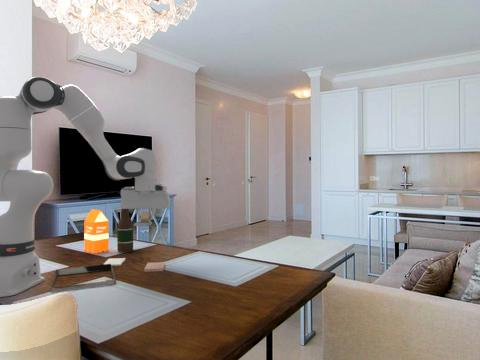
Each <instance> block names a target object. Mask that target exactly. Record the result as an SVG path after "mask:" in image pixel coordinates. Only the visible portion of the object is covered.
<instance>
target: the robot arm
mask: <svg viewBox="0 0 480 360" xmlns="http://www.w3.org/2000/svg"><path fill="white" fill-rule="evenodd" d="M52 109H55V110H58V111H59V112H61V113H62V114H63V115H64V116H65V117H66V119H67V120H68V121H69V122H70V123H71V125H72V126H73V127H74V128H75V129H76V131H77V132H78V133H80V135H82V137H83V138H84V139H85V140H86V141H87V142H88V145H89V146H90V147H91V148H92V150H93V151H94V152H95V154H96V155H97V156H98V158H99V159H100V160H101V162H102V164H103V167H104V171H105V173H106V175H107V177H109V178H110V179H111V180H113V181H122V180H126V179H127V180H128V179H132V178H134V186H124V187H123V188H121V190H120V197H121V199H120V208H121V210H122V209H129V210H135V213H136V215H137V219H138V220H140V221H141V210H147V209H149V210H151V215H149V220H153V219H154V215H155V213H156V211H157V210H156V209H158V210H163V209H164V210H167V209H169V208H170V207H171V199H170V195H169V193H168V186H166V185H163V184H161V183H157V180H158V179H157V174H156V173H157V171H158V170H157V169H158V168H157V167H158V165H157V155H156V153H155V151H154V150H152V149H150V148H146V147H145V148H144V147H139V148H137V149H136V150H134V151H132V152H130V153H127V154H124V155H121V156H120V155H118V154H117V153H116V152H115V151H114V149H113V148H112V146H111V145H110V144H109V142H108V141H107V139H106V138H105V135H104V127H105V118H104V117H103V115H102V113H101V110H99V108H98V107H97V105H95V103H94V102H93V101H92V100H91V99H90V97H89V96H88V95H87V94H86V93H85V92H84V91H83V90H82V89H81V88H80V87H78V86H77V85H74V84H66V85H63V86H62V85H61V84H59V83H56V82H55V81H52V80H51V79H49V78H47V77H43V76H33V77H31V78H29V79H27V80H26V81H25V82H24V84H23V85H22V87H21V88H20V91H19V93H18V95H14V96H13V95H5V96H0V202H10V203H9V207H8V209H7V211H6V212H5V213H3V214H1V215H0V298H2V297H9V296H14V295H18V294H20V293H22V292H24V291H25V290H28V289H30V288H32V287H34V286H36V285H39V284H40V283H42V282H45V280H46V278H45V277H44V276H43V275H42V274H41V265H40V264H41V263H40V257H39V256H38V255H37V254H36V252H35V250H36V240H35V238H34V228H35V227H34V224H35V223H34V221H35V217H36V214H37V213H36V212H37V211H38V209H39V207H40V206H41V204H43V202H44V201H46V200H47V199H48V198H49V197H50V196H51V195H52V193H53V190H54V180H53V178H52V177H51V175H50V174H49V173H48V172H46V171H41V170H38V169H18V166H19V163H20V161H22V160H23V159H25V158H27V157H28V156H29V155H30V154H31V152H32V149H33V148H32V125H31V123H32V117H33V115H39V114H43V113H45V112H48V111H49V110H52Z"/></svg>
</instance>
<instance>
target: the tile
mask: <svg viewBox="0 0 480 360" xmlns="http://www.w3.org/2000/svg"><path fill="white" fill-rule="evenodd" d="M165 267H166V262H165V261H164V262H163V261H162V262H160V261H159V262H147V263H146V266H145V267H144V273H151V272H152V273H153V272H164V269H165Z"/></svg>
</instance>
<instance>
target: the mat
mask: <svg viewBox="0 0 480 360" xmlns="http://www.w3.org/2000/svg"><path fill="white" fill-rule="evenodd" d="M125 261H126V257H122V258H120V257H118V258H116V257H115V258H107V260H106V261H105V262H104V263H103V264H111V266H112V267H118V266H122V265H123V264H124V262H125Z"/></svg>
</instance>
